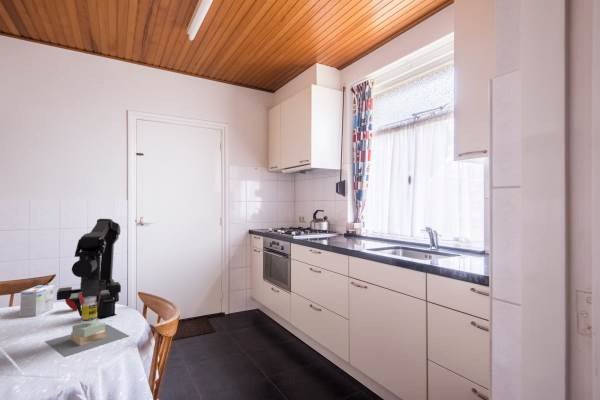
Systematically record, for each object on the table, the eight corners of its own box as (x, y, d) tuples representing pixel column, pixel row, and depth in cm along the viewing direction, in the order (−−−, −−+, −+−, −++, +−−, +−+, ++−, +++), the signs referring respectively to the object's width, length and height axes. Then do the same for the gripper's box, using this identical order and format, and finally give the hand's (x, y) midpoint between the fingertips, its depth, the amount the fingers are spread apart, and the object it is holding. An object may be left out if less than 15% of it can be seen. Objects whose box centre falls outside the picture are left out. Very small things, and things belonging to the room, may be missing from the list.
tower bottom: (95, 332, 117) (96, 325, 117) (105, 337, 112) (105, 330, 112) (70, 339, 110) (71, 332, 110) (80, 345, 105) (80, 338, 105)
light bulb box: (38, 308, 142) (39, 284, 142) (53, 308, 143) (54, 284, 143) (19, 316, 131) (20, 291, 132) (35, 316, 132) (36, 291, 132)
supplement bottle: (89, 323, 108) (89, 299, 108) (77, 322, 109) (78, 298, 109) (100, 318, 113) (101, 295, 113) (89, 317, 114) (90, 294, 114)
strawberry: (64, 310, 140) (65, 288, 140) (84, 307, 145) (85, 285, 145) (65, 314, 136) (66, 291, 136) (86, 310, 140) (87, 288, 141)
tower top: (92, 326, 116) (92, 319, 116) (104, 330, 113) (104, 323, 113) (72, 333, 109) (72, 326, 109) (84, 337, 106) (84, 329, 106)
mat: (107, 325, 124) (107, 324, 124) (129, 337, 114) (129, 336, 114) (44, 342, 108) (44, 341, 108) (64, 358, 98) (64, 357, 98)
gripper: (56, 278, 99) (54, 327, 99) (123, 272, 110) (121, 316, 110) (58, 271, 109) (56, 316, 108) (120, 266, 119) (118, 307, 119)
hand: (89, 314), depth 111 cm, fingers closed on supplement bottle, 5 cm apart
